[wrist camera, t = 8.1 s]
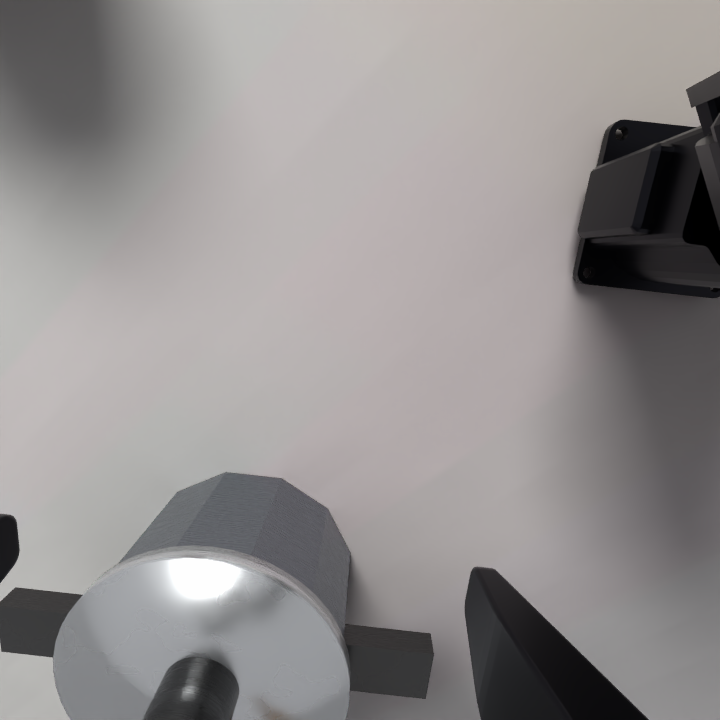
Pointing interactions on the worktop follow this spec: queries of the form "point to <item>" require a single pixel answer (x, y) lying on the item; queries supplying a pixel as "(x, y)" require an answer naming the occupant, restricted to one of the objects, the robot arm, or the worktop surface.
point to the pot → (264, 541)
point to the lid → (200, 643)
